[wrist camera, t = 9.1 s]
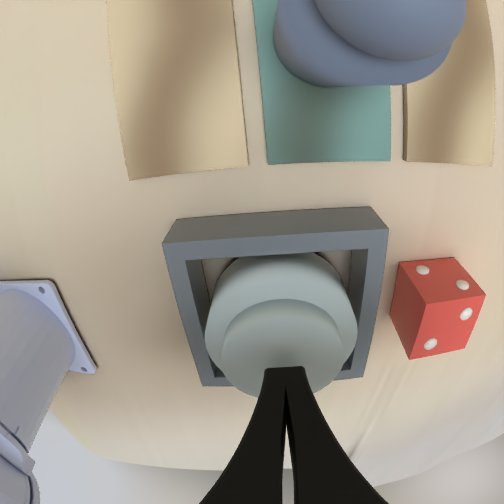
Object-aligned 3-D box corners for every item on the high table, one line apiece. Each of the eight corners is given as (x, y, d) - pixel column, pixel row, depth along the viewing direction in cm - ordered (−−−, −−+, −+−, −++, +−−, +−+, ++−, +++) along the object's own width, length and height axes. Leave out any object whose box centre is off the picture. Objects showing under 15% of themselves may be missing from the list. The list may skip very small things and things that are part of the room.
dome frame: (208, 355, 18) (202, 386, 16) (176, 219, 14) (161, 243, 12) (354, 346, 18) (362, 376, 15) (370, 206, 13) (389, 229, 11)
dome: (223, 353, 17) (215, 410, 13) (202, 251, 14) (183, 305, 10) (339, 346, 16) (352, 402, 13) (349, 242, 13) (375, 293, 10)
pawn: (277, 88, 11) (306, 78, 4) (268, -3, 9) (273, -130, 2) (376, 89, 11) (525, 106, 3) (367, -1, 9) (489, -78, 1)
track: (132, 178, 13) (129, 180, 13) (110, -24, 8) (106, -26, 8) (487, 164, 12) (492, 166, 12) (476, -20, 7) (481, -21, 7)
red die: (389, 315, 16) (409, 361, 13) (399, 260, 15) (427, 303, 12) (440, 308, 16) (465, 349, 13) (454, 256, 14) (487, 294, 11)
